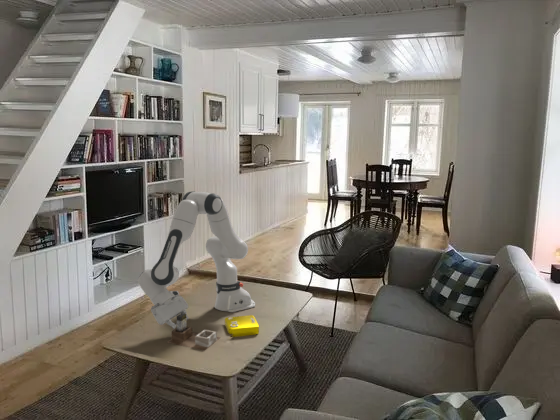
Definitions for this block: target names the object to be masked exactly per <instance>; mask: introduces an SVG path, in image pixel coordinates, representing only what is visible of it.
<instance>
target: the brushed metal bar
mask: <svg viewBox="0 0 560 420" xmlns="http://www.w3.org/2000/svg"><path fill="white" fill-rule="evenodd" d="M176 325H177V327H176V328H177V332H184V331H185V330H187V321H186V314H184V313H180V314H179V315H177V316H176Z"/></svg>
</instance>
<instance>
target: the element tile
mask: <svg viewBox="0 0 560 420" xmlns="http://www.w3.org/2000/svg"><path fill="white" fill-rule="evenodd" d="M224 326H225V328H226V331H227V334H229V335H230V336H229V337H230V338H238V337H245V336H256V334H257V335H259V334H260V325H259V323H258V321H257V319H256V317H255V316H254V315H253V314H248V315H239V316H229V317H225V318H224Z"/></svg>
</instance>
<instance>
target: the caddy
mask: <svg viewBox="0 0 560 420" xmlns="http://www.w3.org/2000/svg"><path fill="white" fill-rule="evenodd" d="M186 326H187V325H186ZM220 339H221V337H219V336H218V331H215V330H209V329H203V330H202V331H201V332H199V333H198V332H194V331H193V327H192V326H187V330H185V331H184V332H177V327H176V328H175V329H173V330H172V331H171V339H169V340H168V341H167V342H166V343H168V344H172V345H178V346H182V347H186V348H191V349H196V350H202V351H207V350H208V349H209V348H210V347H211V346H213V345H214V344H215V343H216V342H217V341H219V340H220Z"/></svg>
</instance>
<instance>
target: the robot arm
mask: <svg viewBox="0 0 560 420" xmlns="http://www.w3.org/2000/svg"><path fill="white" fill-rule="evenodd" d="M198 215H206V217H207V221H208V224H209V225H208V226H209V228H210V231H211V233H212V235H214V236H210V237H209V238H207V241H206V243H205V250H206V252H207V253H208V254H209V255H210V257H211V258H212V260H213V263H214V264H215V265H214V266H215V269H216V270H215V271H216V283H215V289H216V290H215V291H216V298H215V303H214V308H215V310H218V311H223V312H229V313H235V312H238V311H242V310H244V311H245V310H246V309H251V308H255V307H256V302H255V301H254V300H253V299H252V297H251V294H250V293H249V292H248V291H247V290H245V289H244V288H243V286H244V283H242V282H241V281H239V280H238V267H237V266H236V264H234V262H232V260H242V259H243V260H244V259H245V257H246V256H247V255H248V252H249V246H248V244H247V243H246V242H245V240H243V239H242V238H241V237H240V236H239V234H238V233H237V232H236V231H235V229H234V227H233V225H232V221H231V219H230V218H231V217H230V215H229V212H228V207H227V205H226V203H225V201H224V200H223V198H222V197H221V196H220V195H219V194H217V193H212V192H207V191H194V190H193V191H188V192H186V193H185V194H184V195H183V196H182V199H181V201H180V202H179V203H178V206H177V207H176V209H175V211H174V214H173V216H172V217H173V218H172V220H171V224H170V226H169V227H170V228H169V232H168V234H167V235H168V236H167V239H166V240H165V244H164V247H163V250H162V252H161V255H160V257H159V259H158V261H157V262H156V263H155V264H154V266H153V267H152V268H147V269H146V270H144V271H143V272H141V274H139V277H138V278H137V283H138V285H139V287H140V288H141V290H142V291H143V293H144V294H145V295H146V296H147V297H148V298H149V299H150V302H151V303H152V304H153V305H152V306H151V307H150V308H151V309H150V311H151V313H152V315H153V317H154V319H155V320H156V322H157V324H158V325H161V326H162V325H164V324H167V325H168V326H170V327H172V329H173V330H175V329H176V328H177V322H173V321H172V319H174V318H176V317H177V316H178V315H179V314H181V313H184V314H186V322H187V321H188V320H189V319H190V317H189V316H188V313H187V309H188V308H189V303H188V302H187V301H186V299H185V298H184V297H183V296H182V295H180V292H179V291H178V290H168V287H169V286H171V285H174V284H175V283H176V282H177V281H178V280H179V277H180V276H179V275H180V272H179V270H178V268H177V267H176V266H175V265H174V262H175V259H176V256H177V254H178V251H179V248H180V246H181V245H182V244H183V243H184V242H186V241H187V240H188V239H190V237H191V236H192V234H193V232H194V230H195V227H196V223H197V219H198Z"/></svg>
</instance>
